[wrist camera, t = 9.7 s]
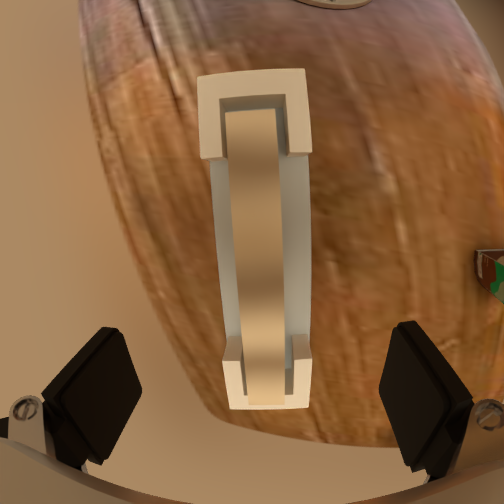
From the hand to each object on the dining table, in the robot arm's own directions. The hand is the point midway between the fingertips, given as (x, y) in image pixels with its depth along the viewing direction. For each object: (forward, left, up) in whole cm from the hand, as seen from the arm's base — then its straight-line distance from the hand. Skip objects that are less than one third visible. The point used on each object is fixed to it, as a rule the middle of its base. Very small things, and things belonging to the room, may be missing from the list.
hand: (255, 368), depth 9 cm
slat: (+1, 0, -15) cm, 15 cm away
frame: (0, 0, -16) cm, 16 cm away
